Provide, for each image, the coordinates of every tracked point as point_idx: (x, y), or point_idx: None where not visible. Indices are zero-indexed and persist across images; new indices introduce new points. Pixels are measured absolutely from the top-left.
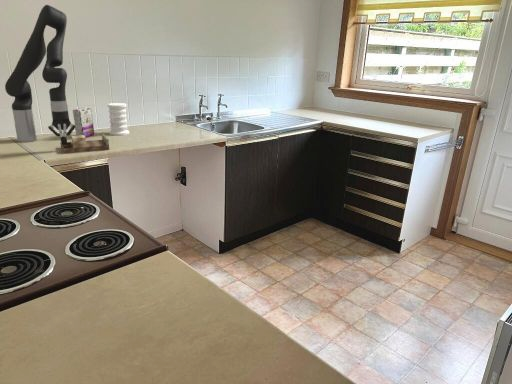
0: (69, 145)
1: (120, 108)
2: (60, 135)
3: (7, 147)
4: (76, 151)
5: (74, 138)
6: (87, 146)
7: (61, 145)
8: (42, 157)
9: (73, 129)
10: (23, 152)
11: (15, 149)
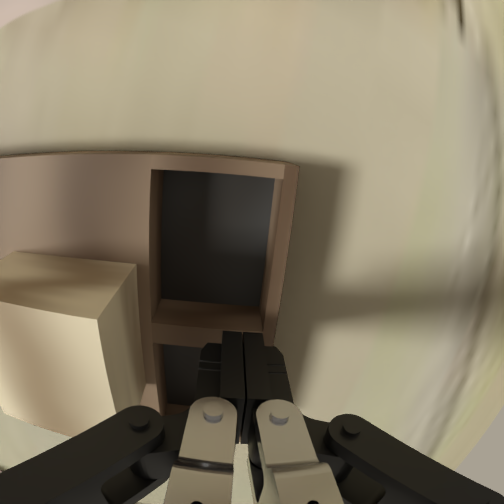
0: (182, 324)
1: None
2: (297, 424)
3: (473, 440)
4: (138, 151)
5: (74, 314)
6: (6, 174)
7: None
8: (470, 125)
9: (19, 468)
10: (494, 340)
11: (478, 408)
